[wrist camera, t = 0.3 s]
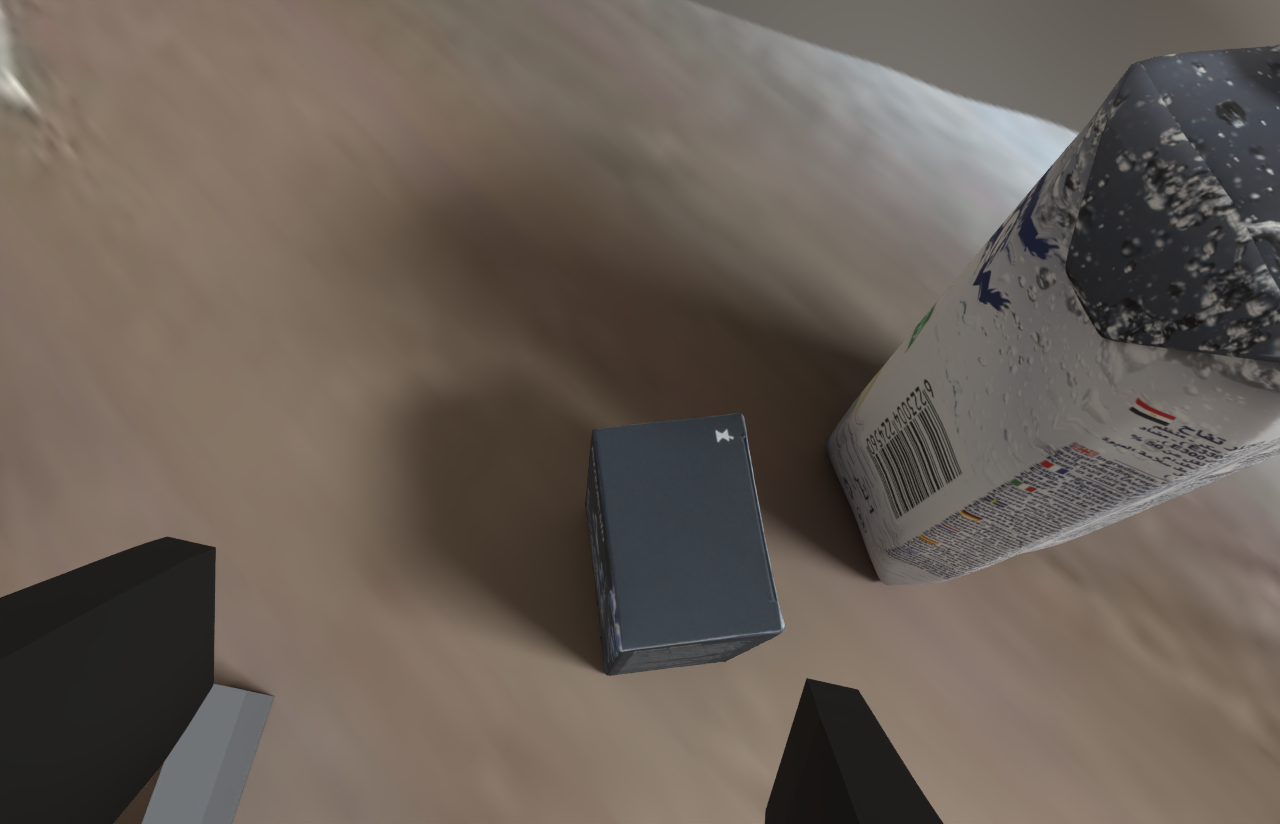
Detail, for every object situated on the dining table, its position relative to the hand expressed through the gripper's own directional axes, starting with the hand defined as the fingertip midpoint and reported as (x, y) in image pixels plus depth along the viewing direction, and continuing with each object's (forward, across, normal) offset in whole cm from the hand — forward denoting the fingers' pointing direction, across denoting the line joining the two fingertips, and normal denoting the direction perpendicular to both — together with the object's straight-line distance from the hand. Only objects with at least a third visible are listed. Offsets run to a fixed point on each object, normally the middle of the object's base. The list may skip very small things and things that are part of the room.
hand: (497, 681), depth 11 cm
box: (+26, -2, +14) cm, 30 cm away
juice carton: (+32, -14, +9) cm, 36 cm away
